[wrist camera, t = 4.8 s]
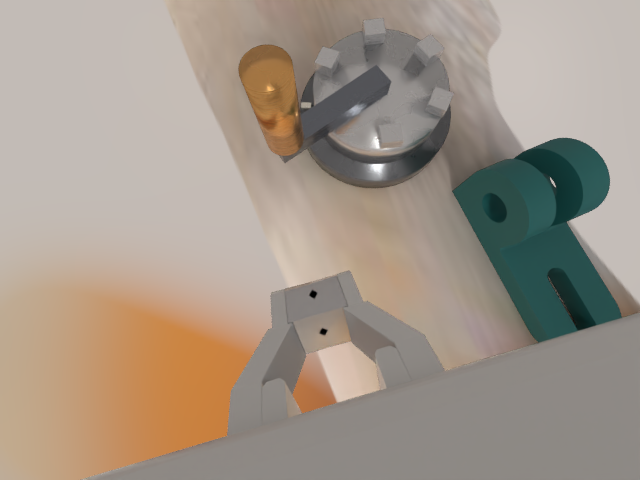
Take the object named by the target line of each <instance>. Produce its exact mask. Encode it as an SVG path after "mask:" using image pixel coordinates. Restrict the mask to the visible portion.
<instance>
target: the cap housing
mask: <svg viewBox="0 0 640 480" xmlns="http://www.w3.org/2000/svg"><path fill="white" fill-rule="evenodd" d="M314 76H315V73H314V74H313V76H312V77H311V78H310V80H309V82H308V83H307V85H306V87H305V90H304V92H303V95H302V99H301V105H300V115H301V114H303V113H304V112H306V111H307V110H309V109H310V108H312V107H313V106H314V95H313V82H314ZM450 118H451V111H450V104H449V106H448V109H447V111H446V113H445V114H444V116H443V117H442V118H441V119H440V121H439V122H438V124H437V125H436V127H435V128H434V130H433V131H432V133H431V135H430V136H429V138H428V139H427V140H426V142H425V143H424V144H423V145H422V146H421V147H420V148H419V149H418V150H417V151H415V152H414V153H413V154H411V155H409V156H408V157H406V158H404V159H401V160H399V161H395V162H392V163H386V164H366V163H361V162H357V161H354V160H351V159H349V158H347V157H345V156H343V155H342V154H340V153H338V152H337V151H336V150H335V149H333V148H332V147H331V146H330V145H329V144H328V143H327V142H326V140H325V139H324V137H323V138H322V139H320V140H319V141H317V142H316V143H314V144H313V145H311V146H310V147H308V148H307V149H308V151H309V152H310V154H311V156H312V157H313V159H314V160H315V161H316V163H317V164H318V165H319V166H320V167H321V168H322V169H323V170H324V171H326V172H327V173H328V174H329V175H331V176H333V177H334V178H336V179H338V180H340V181H342V182H344V183H347V184H350V185H353V186H358V187H364V188H383V187H389V186H393V185H396V184H399V183H402V182H404V181H406V180H408V179H410V178H412V177H414V176H415V175H417V174H418V173H419V172H420V171H422V170H423V169H424V168H425V167H426V166H427V165H428V163H429V162H430V161H431V160H432V159H433V157H434V156H435V155H436V153H437V152H438V151H439V149H440V148H441V146H442V144H443V143H444V141H445V138H446V136H447V134H448V130H449V126H450Z"/></svg>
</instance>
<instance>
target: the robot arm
mask: <svg viewBox="0 0 640 480" xmlns="http://www.w3.org/2000/svg"><path fill="white" fill-rule="evenodd" d="M271 315H272V329H268V331H267V332H266V334H265V336H264V337H263V339H262V341H261V342H260V344H259V346H258V347H257V349H256V350H255V352H254V354H253V355H252V357H251V359H250V360H249V362H248V364H247V365H246V367H245V369H244V370H243V372H242V374H241V375H240V377H239V379H238V380H237V382H236V384H235V385H234V387H233V389H232V390H231V397H230V409H229V421H228V433H227V436H226V437H222V438H219V439H215V440H212V441H209V442H205V443H202V444H199V445H196V446H192V447H189V448H185V449H182V450H179V451H176V452H172V453H169V454H166V455H162V456H159V457H155V458H152V459H149V460H145V461H142V462H139V463H135V464H132V465H128V466H125V467H122V468H118V469H115V470H112V471H109V472H105V473H102V474H99V475H95V476H92V477H88V478H85V479H82V480H640V313H636V314H633V315H629V316H626V317H623V318H619V319H616V320H613V321H609V322H606V323H603V324H599V325H596V326H593V327H589V328H586V329H583V330H579V331H576V332H573V333H569V334H566V335H563V336H559V337H556V338H553V339H549V340H546V341H543V342H539V343H536V344H533V345H529V346H526V347H523V348H519V349H516V350H513V351H509V352H506V353H503V354H499V355H496V356H493V357H489V358H486V359H482V360H479V361H476V362H472V363H469V364H466V365H462V366H459V367H456V368H452V369H449V370H446V371H445V370H444V368H443V366H442V364H441V363H440V361H439V359H438V358H437V356H436V354H435V352H434V351H433V349H432V347H431V346H430V344H429V342H428V341H427V339H426V337H425V335H424V334H422V333H420V332H419V331H417V330H415V329H414V328H412V327H410V326H409V325H407V324H405V323H404V322H402V321H400V320H399V319H397V318H395V317H394V316H392V315H390V314H388V313H387V312H385V311H383V310H382V309H380V308H378V307H377V306H375V305H373V304H372V303H370V302H368V301H365V302H363V300H362V297H361V295H360V293H359V290H358V288H357V286H356V283H355V281H354V279H353V276H352V274H351V272H350V271H346V272H342V273H339V274H337V275H333V276H329V277H326V278H322V279H319V280H316V281H312V282H309V283H305V284H301V285H297V286H294V287H290V288H286V289H284V290H279V291H275V292H272V293H271ZM350 341H351V342H352V343H353V344H354V345H355V346H356V347H358V348H359V349H360V350H361V351H362V352H363V353H364V354H365V355H367V356H368V357H369V358H370V359H371V360H372V361H373V362H375V363H376V367H377V373H378V380H379V386H380V390H379V391H376V392H372V393H369V394H366V395H362V396H359V397H356V398H352V399H349V400H346V401H342V402H339V403H336V404H332V405H329V406H326V407H323V408H319V409H316V410H313V411H309V412H306V413H302V412H301V410H300V409H299V407H298V405H297V403H296V401H295V399H294V398H293V396H292V394H293V391H294V388H295V385H296V383H297V380H298V377H299V374H300V372H301V369H302V366H303V363H304V361H305V358H306V354H309V353H312V352H315V351H318V350H321V349H324V348H327V347H331V346H335V345H339V344H342V343H346V342H350Z"/></svg>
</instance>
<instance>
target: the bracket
mask: <svg viewBox="0 0 640 480" xmlns="http://www.w3.org/2000/svg"><path fill="white" fill-rule="evenodd" d="M550 177H551V178H552V180H553V181H554V183H555V185H556V188H555V187H554V186H553V184H552V183H551V180H550ZM609 186H610V177H609V172H608V169H607V166H606V164H605V162H604V160H603V159H602V157H601V156H600V155H599V154H598V153H597V152H596V151H595V150H594V149H593V148H592V147H590V146H589V145H587V144H586V143H583V142H581V141H579V140H576V139H571V138H557V139H553V140H550V141H548V142H545V143H543V144H541V145H538V146H536V147H534V148H531V149H529V150H526V151H524V152H522V153H521V154H519V155H518V156H517V157H515V158H514V159H506V160H503V161H501V162H498V163H496V164H493V165H491V166H489V167H486V168H484V169H482V170H479V171H477V172H475V173H474V174H473V175H472V176H470V177H469V178H468V179H467V180H466V181H464V182H463V183H462V184H461V185H459V186H458V187H457V188H456V189H455V190H453V191H452V192H453V193H454V195H455V197H456V199H457V201H458V202H459V204H460V206H461V208H462V210H463V212H464V213H465V215H466V217H467V219H468V221H469V222H470V224H471V226H472V228H473V230H474V232H475V233H476V235H477V237H478V239H479V241H480V242H481V244H482V246H483V248H484V250H485V252H486V253H487V255H488V257H489V259H490V261H491V262H492V264H493V266H494V268H495V270H496V272H497V273H498V275H499V277H500V279H501V281H502V282H503V284H504V286H505V288H506V290H507V291H508V293H509V295H510V297H511V299H512V301H513V302H514V304H515V306H516V308H517V310H518V311H519V313H520V315H521V317H522V319H523V321H524V322H525V324H526V326H527V328H528V330H529V331H530V333H531V334H532V336H533V337H534V338H535V339H536V340H537V341H538V342H543V341H546V340H549V339H553V338H556V337H559V336H563V335H566V334H569V333H573V332H576V331H579V330H583V329H586V328H589V327H593V326H596V325H599V324H603V323H606V322H609V321H613V320H616V319H619V318H622V316H621V313H620V310H619V307H618V305H617V303H616V301H615V300H614V298H613V297H612V295H611V293H610V292H609V290H608V289H607V287H606V285H605V284H604V282H603V281H602V279H601V277H600V276H599V274H598V272H597V271H596V269H595V268H594V266H593V264H592V263H591V261H590V260H589V258H588V256H587V255H586V253H585V252H584V250H583V248H582V247H581V245H580V244H579V242H578V240H577V239H576V237H575V236H574V234H573V232H572V231H571V229H570V227H569V226H568V224H567V221H569V220H571V219H574V218H576V217H578V216H581V215H583V214H585V213H587V212H590V211H592V210H593V209H595V208H597V207H598V206H599V205H600V204H601V203H602V202H603V201H604V199H605V198H606V196H607V193H608V191H609ZM548 276H549V278H550V279H551V281H552V283H553V284H554V286H555V288H556V290H557V291H558V293H559V295H560V296H561V298H562V300H563V301H564V303H565V305H566V307H567V308H568V310H569V312H570V313H571V315H572V317H573V319H574V320H575V323H576V326H575V325H574V323H573V321H572V319H571V318H570V316H569V314H568V313H567V311H566V309H565V308H564V306H563V304H562V302H561V301H560V299H559V297H558V296H557V294H556V292H555V290H554V289H553V287H552V285H551V284H550V282H549V280H548Z"/></svg>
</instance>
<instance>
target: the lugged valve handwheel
mask: <svg viewBox="0 0 640 480" xmlns="http://www.w3.org/2000/svg"><path fill="white" fill-rule="evenodd" d="M443 50H444V47H443V46H442V45H441V44H440V43H439V42H438V41H437V40H436V39H435V38H434V37H433V36H432V35H431V34H430V35H429V36H427V37H426V38H424V39H423V40H419V39H417V38H415V37H413V36H411V35H409V34H406V33H403V32H399V31H395V30H389V29H385V25H384V19H383V18H379V19H370V20H363V26H362V31H361V32H357V33H354V34H352V35H350V36H347V37H345V38H344V39H342V40H340V41H339V42H337V43H336V44H335V45H333V46H332V47H331V48H327V47H324V46H323V47H322V49H321V51H320V53H319V54H318V56H317V58H316V60H315V62H314V64H315V76H314V82H313V95H314V106H313V107H312V108H310V109H309V110H307V111H306V112H304V113H303V114H301V115H300V109H299V102H298V96H297V90H296V83H295V77H294V71H293V64H292V60H291V58H290V56H289V55H288V53H287V52H286V51H285V50H283V49H282V48H280V47H278V46H274V45H260V46H257V47H254V48H252V49H251V50H249V51H248V52H247V53H246V54H245V55H244V56H243V57H242V59H241V61H240V64H239V76H240V78H241V81H242V83H243V86H244V88H245V91H246V93H247V95H248V98H249V100H250V103H251V105H252V108H253V110H254V113H255V115H256V117H257V120H258V122H259V125H260V127H261V130H262V132H263V134H264V137H265V139H266V142H267V144H268V147H269V148H270V149H271V151H272V152H274V153H275V154H278V155H279V156H280V157H281V159H282V160H283V161H284V163H286V162H288V161H289V160H291V159H292V158H293V157H295V156H296V155H298V154H299V153H301V152H302V151H304V150H305V149H307V148H308V147H310V146H311V145H313V144H314V143H316V142H317V141H319V140H320V139H322V138H323V137H324V139H325V140H326V142H327V143H328V144H329V145H330V146H331V147H332V148H333V149H335V150H336V151H337V152H338V153H340V154H342V155H343V156H345V157H347V158H349V159H351V160H354V161H357V162H361V163H366V164H386V163H392V162H395V161H399V160H401V159H404V158H406V157H408V156H409V155H411V154H413V153H414V152H415V151H417V150H418V149H419V148H420V147H421V146H422V145H423V144H424V143H425V142H426V140H427V139H428V138H429V136H430V135H431V133H432V131H433V130H434V128H435V127H436V125H437V124H438V122H439V121H440V119H441V118H442V117H443V116H444V114H445V113H446V111H447V109H448V106H449V104H450V102H451V99H452V97H453V94H454V93H452V92H449V80H448V76H447V72H446V70H445V68H444V65H443V63H442V62H441V60H440V59H439V58H440V56H441V54H442V52H443Z"/></svg>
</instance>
